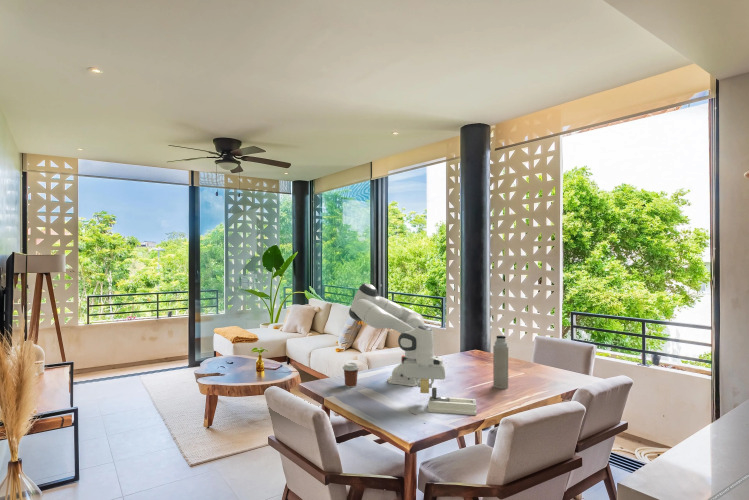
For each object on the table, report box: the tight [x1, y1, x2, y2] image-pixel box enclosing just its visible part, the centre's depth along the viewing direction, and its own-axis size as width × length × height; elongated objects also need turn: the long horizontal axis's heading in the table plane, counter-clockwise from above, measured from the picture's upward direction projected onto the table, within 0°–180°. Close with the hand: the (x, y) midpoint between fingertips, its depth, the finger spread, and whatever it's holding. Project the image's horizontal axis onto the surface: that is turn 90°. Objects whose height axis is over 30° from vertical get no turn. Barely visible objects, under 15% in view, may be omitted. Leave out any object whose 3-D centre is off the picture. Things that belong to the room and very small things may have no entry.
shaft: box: [429, 387, 450, 402], centre depth 210 cm, size 9×3×7 cm, turn 79°
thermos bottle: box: [492, 335, 509, 390], centre depth 245 cm, size 8×8×28 cm
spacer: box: [419, 379, 430, 394], centre depth 217 cm, size 4×4×6 cm
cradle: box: [427, 395, 478, 416], centre depth 209 cm, size 22×12×4 cm, turn 79°
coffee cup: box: [342, 362, 360, 388], centre depth 245 cm, size 9×9×12 cm
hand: (424, 387), depth 217 cm, fingers closed on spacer, 4 cm apart
